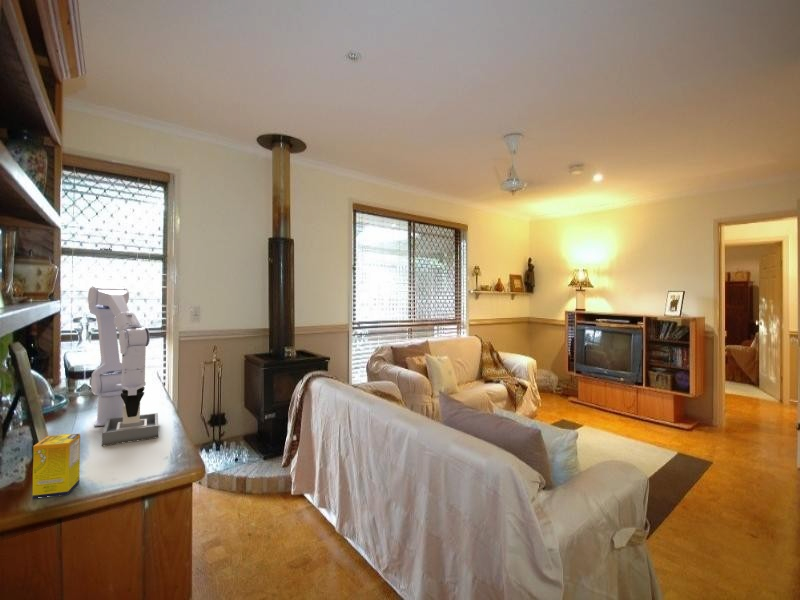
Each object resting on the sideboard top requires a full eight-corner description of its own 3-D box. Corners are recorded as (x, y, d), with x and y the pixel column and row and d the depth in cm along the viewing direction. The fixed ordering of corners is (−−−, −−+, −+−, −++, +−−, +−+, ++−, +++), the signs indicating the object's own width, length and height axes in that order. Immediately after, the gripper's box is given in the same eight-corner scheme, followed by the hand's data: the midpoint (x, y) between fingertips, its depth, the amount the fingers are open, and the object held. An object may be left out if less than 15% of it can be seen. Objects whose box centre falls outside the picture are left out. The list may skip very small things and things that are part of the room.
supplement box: (45, 486, 83) (47, 435, 83) (80, 482, 85) (81, 432, 85) (30, 500, 77) (32, 445, 77) (67, 495, 79) (69, 442, 79)
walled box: (106, 430, 117) (107, 418, 117) (157, 423, 124) (157, 412, 124) (101, 445, 105) (102, 433, 105) (158, 437, 112) (158, 425, 112)
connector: (123, 420, 115) (124, 396, 115) (139, 418, 117) (140, 395, 117) (122, 424, 112) (123, 400, 112) (139, 422, 114) (140, 398, 114)
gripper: (118, 365, 118) (117, 409, 118) (115, 374, 106) (113, 423, 106) (146, 364, 122) (145, 407, 122) (145, 372, 110) (144, 419, 110)
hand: (132, 414), depth 114 cm, fingers closed on connector, 4 cm apart
